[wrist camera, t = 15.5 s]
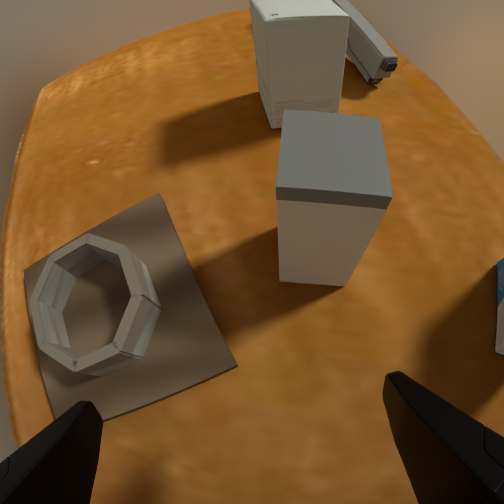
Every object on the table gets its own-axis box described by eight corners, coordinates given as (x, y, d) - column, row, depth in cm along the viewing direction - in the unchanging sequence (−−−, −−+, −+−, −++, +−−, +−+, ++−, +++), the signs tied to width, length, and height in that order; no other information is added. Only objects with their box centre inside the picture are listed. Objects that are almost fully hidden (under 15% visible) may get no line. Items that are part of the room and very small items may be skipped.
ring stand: (238, 366, 22) (227, 360, 17) (69, 433, 20) (33, 435, 15) (163, 200, 28) (145, 168, 24) (30, 274, 26) (1, 255, 22)
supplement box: (339, 122, 30) (352, 16, 19) (269, 130, 30) (261, 20, 19) (318, 83, 33) (322, -10, 22) (257, 90, 34) (247, -6, 22)
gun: (303, 7, 42) (308, -36, 32) (377, 109, 37) (402, 60, 27) (289, 9, 42) (293, -36, 32) (362, 111, 37) (385, 61, 27)
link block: (344, 286, 23) (392, 197, 12) (279, 281, 24) (276, 186, 13) (345, 228, 25) (379, 118, 14) (284, 223, 26) (283, 109, 15)
